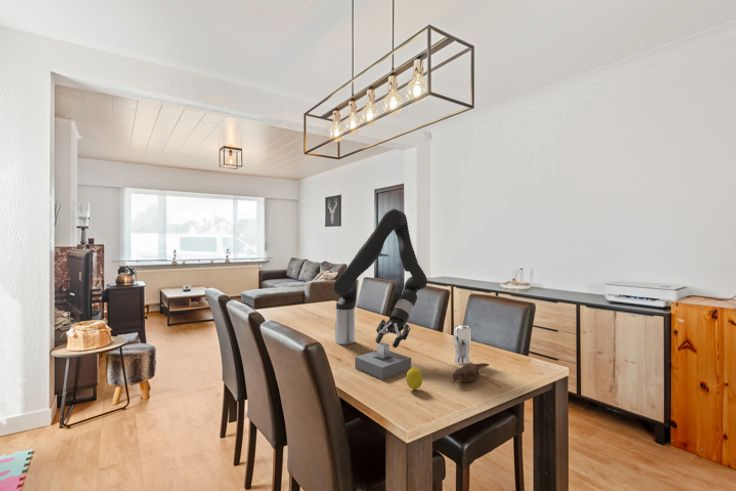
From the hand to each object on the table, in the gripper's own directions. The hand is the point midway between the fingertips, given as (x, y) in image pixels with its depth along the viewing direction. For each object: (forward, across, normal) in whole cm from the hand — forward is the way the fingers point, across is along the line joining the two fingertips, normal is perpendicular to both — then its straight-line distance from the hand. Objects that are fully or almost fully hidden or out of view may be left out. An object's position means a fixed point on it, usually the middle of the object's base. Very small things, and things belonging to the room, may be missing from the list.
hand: (385, 344), depth 146 cm
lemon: (+14, +21, -1) cm, 26 cm away
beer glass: (-11, +22, +24) cm, 34 cm away
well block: (+8, 0, +5) cm, 9 cm away
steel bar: (+8, 0, +5) cm, 9 cm away
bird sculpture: (-1, +32, +14) cm, 35 cm away
